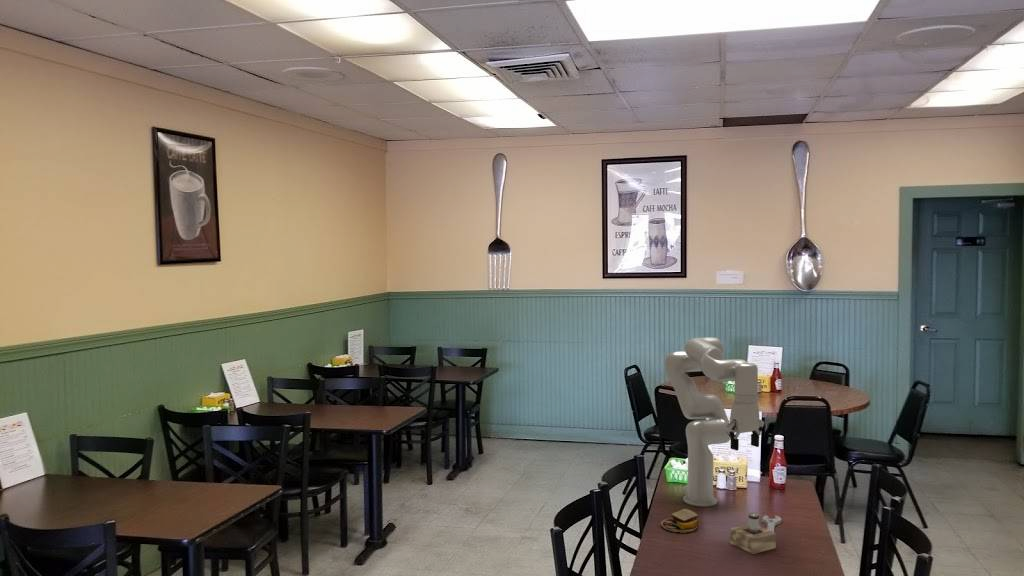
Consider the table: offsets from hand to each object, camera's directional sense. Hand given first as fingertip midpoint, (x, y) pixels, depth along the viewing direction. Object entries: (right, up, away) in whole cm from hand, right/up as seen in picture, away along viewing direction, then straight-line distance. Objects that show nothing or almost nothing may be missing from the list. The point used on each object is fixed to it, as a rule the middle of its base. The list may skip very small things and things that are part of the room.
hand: (744, 447), depth 263 cm
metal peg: (-2, -28, -14) cm, 32 cm away
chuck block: (-2, -29, -14) cm, 32 cm away
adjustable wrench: (+8, -29, 0) cm, 30 cm away
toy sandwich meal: (-22, -29, +3) cm, 36 cm away
